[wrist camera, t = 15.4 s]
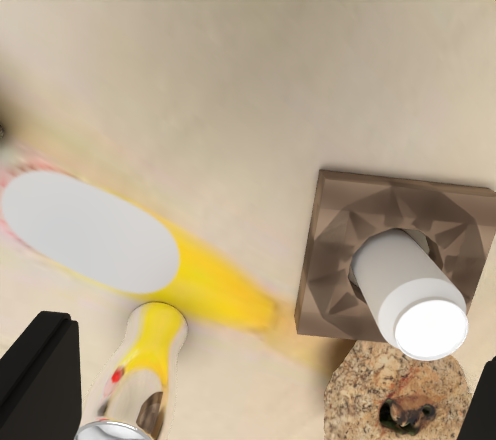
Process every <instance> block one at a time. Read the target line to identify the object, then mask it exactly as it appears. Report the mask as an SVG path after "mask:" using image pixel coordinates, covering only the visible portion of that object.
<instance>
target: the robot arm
mask: <svg viewBox="0 0 496 440" xmlns="http://www.w3.org/2000/svg"><path fill="white" fill-rule="evenodd" d="M81 418H82V399H81V375H80V351H79V327H78V322H77V321H73V320H71V317H70V314H68V313H60V312H50V311H41V312H40V313H39V314H38V315H37V316H36V317H35V318H34V320H33V321H32V322H31V323H30V324H29V326H28V327H27V328H26V329H25V330H24V332H23V333H22V334H21V335H20V336H19V338H18V339H17V340H16V341H15V342H14V344H13V345H12V346H11V347H10V348H9V350H8V351H7V352H6V353H5V354H4V356H3V357H2V358H1V359H0V440H74V438H75V436H76V434H77V431H78V429H79V426H80V423H81ZM457 440H496V356H495V357H494V358H493V359H492V361H488V362H487V363H486V364H485V366H484V369H483V372H482V374H481V377H480V380H479V382H478V385H477V387H476V390H475V393H474V395H473V398H472V400H471V403H470V406H469V408H468V411H467V414H466V416H465V419H464V421H463V424H462V427H461V429H460V432H459V434H458V437H457Z"/></svg>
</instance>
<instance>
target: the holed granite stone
mask: <svg viewBox="0 0 496 440" xmlns="http://www.w3.org/2000/svg"><path fill="white" fill-rule="evenodd" d="M467 392H468V387H467V383H466V380H465V378H464V373H463V371H462V369H461V367H460V365H459V364H458V362H457V360H456V359H455V358H454V357H452V356H451V355H448V356H446V357H443V358H441V359H437V360H431V361H422V360H416V359H413V358H411V357H409V356H407V355H405V354H404V353H403V352H402V351H401V350H400V349H398V348H396V347H394V346H392V345H391V344H389V343H383V342H372V341H362V340H357V341H356V343H355V345H354V346H353V348H351V350H350V352H349V353H348V355H347V356H346V357H345V359H344V362H343V363H341V365H340V366H339V367H338V368H337V370H336V371H334V372H333V374H332V379H331V380H330V382H329V384H328V386H327V388H326V391H325V394H324V402H325V418H324V431H325V436H324V440H457V437H458V434H459V432H460V429H461V427H462V424H463V421H464V419H465V416H466V414H467V411H468V408H469V406H470V403H471V400H472V393H471V394H469V393H467ZM385 402H386V403H388V404H385Z"/></svg>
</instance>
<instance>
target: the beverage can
mask: <svg viewBox="0 0 496 440" xmlns="http://www.w3.org/2000/svg"><path fill="white" fill-rule="evenodd" d="M351 268H352V271H353V274H354V276H355V278H356V281H357V283H358V285H359V287H360V289H361V291H362V294H363V296H364V298H365V300H366V302H367V304H368V306H369V309H370V311H371V313H372V315H373V317H374V319H375V321H376V324H377V326H378V328H379V330H380V332H381V334H382V336H383V337H384V339H385V340H386V341H387V342H388V343H389V344H391V345H392V346H394V347H396V348H398V349H400V350H401V351H402V352H403V353H404V354H405V355H407V356H409V357H411V358H413V359H416V360H422V361H431V360H437V359H441V358H443V357H446V356H448V355H450V354H451V353H453V352H454V351H455V350H457V349H458V348H459V347H460V346H461V344H462V343H463V342H464V340H465V338H466V336H467V333H468V319H467V316H466V304H465V300H464V298H463V296H462V294H461V293H460V291H459V290H458V289H457V288H456V287H455V286H454V284H453V283H452V282H451V281H450V280H449V279H448V278H447V276H446V275H445V274H444V273H443V272H442V271H441V270H440V269H439V267H438V266H437V265H436V264H435V263H434V262H433V261H432V260H431V259H430V257H429V256H428V255H427V254H426V253H425V252H424V251H423V250H422V248H421V247H420V246H419V245H418V244H417V243H416V242H415V241H414V240H413V239H412V238H411V237H410V236H409V235H408V234H407V233H405V232H403V231H401V230H399V229H395V228H391V229H389V230H386V231H383V232H381V233H378V234H376V235H373V236H370V237H369V238H368V239H367V240H366V241H365V242H364V243H363V244H362V245H361V247H360V248H359V249H358V250H357V251H356V252H355V253H354V254H353V255H352V260H351Z"/></svg>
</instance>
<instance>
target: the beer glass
mask: <svg viewBox="0 0 496 440" xmlns="http://www.w3.org/2000/svg"><path fill="white" fill-rule="evenodd" d="M187 333H188V327H187V322H186V320H185V318H184V316H183V315H182V314H181V313H180V312H179V311H178V310H177V309H176V308H174V307H172V306H170V305H168V304H165V303H160V302H150V303H146V304H143V305H141V306H139V307H138V308H136V309H135V310H134V311H133V312H132V313H131V315H130V317H129V319H128V322H127V327H126V333H125V337H124V340H123V341H122V343H121V345H120V346H119V347H118V349H117V350H116V351H115V352H114V354H113V355H112V356H111V357H110V359H109V360H108V361H107V362H106V364H105V365H104V366H103V368H102V369H101V370H100V372H99V373H98V375H97V376H96V378H95V379H94V381H93V383H92V384H91V386H90V388H89V390H88V392H87V394H86V396H85V398H84V400H83V402H82V418H81V423H80V426H79V429H78V431H77V434H76V436H75V438H74V440H168V437H169V434H170V430H171V426H172V422H173V418H174V412H175V406H176V396H177V357H178V354H179V351H180V349H181V348H182V346H183V344H184V342H185V340H186V337H187Z"/></svg>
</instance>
